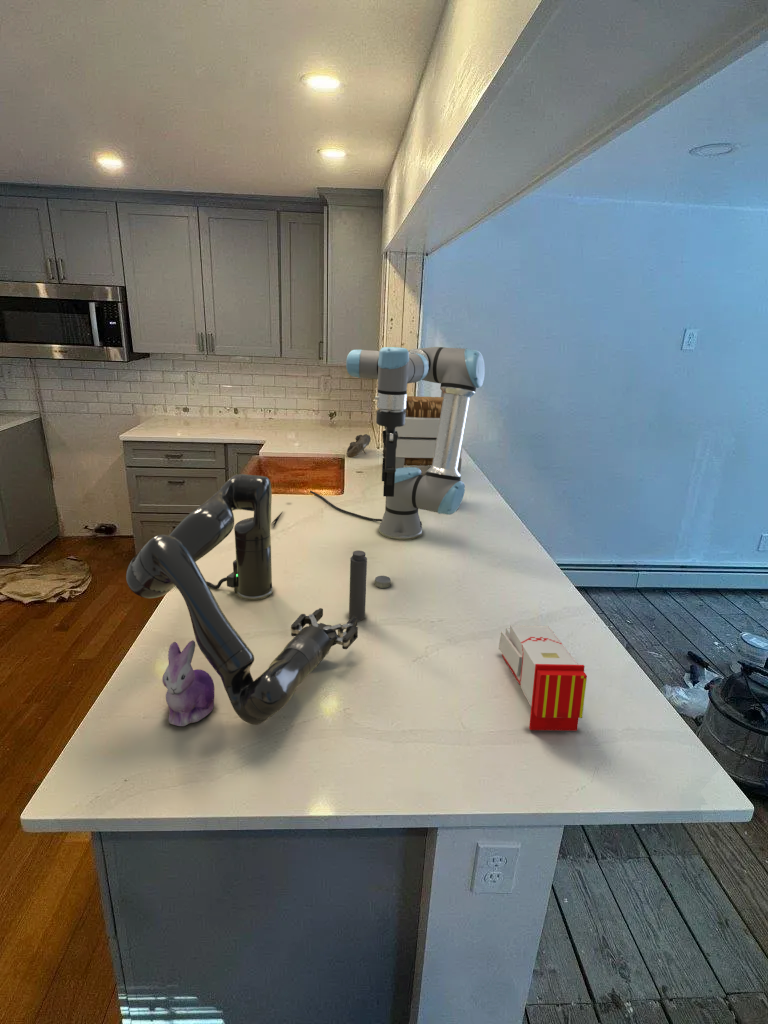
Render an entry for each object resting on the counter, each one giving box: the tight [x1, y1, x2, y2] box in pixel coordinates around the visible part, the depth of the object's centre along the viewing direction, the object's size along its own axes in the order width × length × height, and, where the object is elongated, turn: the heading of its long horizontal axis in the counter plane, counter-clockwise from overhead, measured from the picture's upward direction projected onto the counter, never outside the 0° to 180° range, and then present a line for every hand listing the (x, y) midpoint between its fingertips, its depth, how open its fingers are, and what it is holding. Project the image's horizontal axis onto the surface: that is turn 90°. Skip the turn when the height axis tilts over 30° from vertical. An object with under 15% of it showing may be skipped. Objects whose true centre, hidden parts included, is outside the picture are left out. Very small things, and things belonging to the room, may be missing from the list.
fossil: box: [346, 433, 372, 458], centre depth 305 cm, size 22×10×15 cm
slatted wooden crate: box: [383, 391, 464, 475], centre depth 268 cm, size 34×33×41 cm
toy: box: [498, 624, 588, 732], centre depth 119 cm, size 12×13×30 cm
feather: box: [271, 512, 283, 529], centre depth 212 cm, size 2×28×2 cm
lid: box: [374, 575, 392, 589], centre depth 163 cm, size 5×5×2 cm
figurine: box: [161, 640, 215, 727], centre depth 107 cm, size 9×10×15 cm
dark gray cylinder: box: [348, 550, 368, 622], centre depth 142 cm, size 4×4×18 cm
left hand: (338, 615), depth 133 cm, fingers open, 8 cm apart
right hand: (387, 488), depth 153 cm, fingers open, 13 cm apart
